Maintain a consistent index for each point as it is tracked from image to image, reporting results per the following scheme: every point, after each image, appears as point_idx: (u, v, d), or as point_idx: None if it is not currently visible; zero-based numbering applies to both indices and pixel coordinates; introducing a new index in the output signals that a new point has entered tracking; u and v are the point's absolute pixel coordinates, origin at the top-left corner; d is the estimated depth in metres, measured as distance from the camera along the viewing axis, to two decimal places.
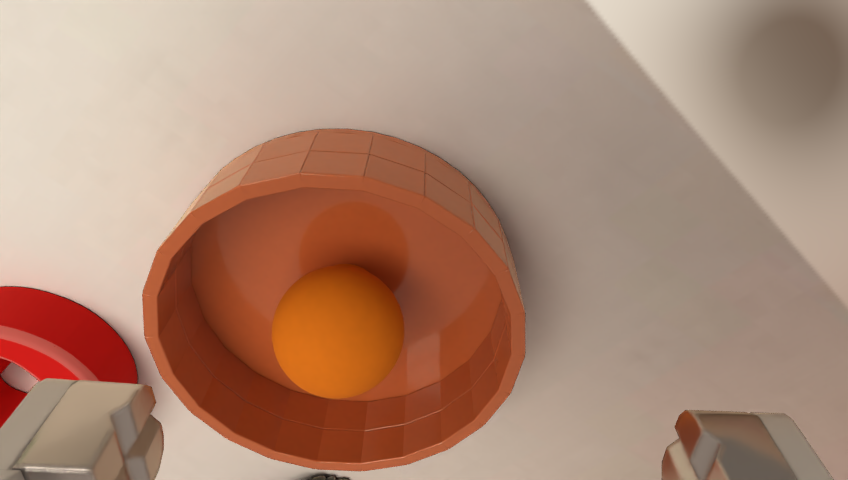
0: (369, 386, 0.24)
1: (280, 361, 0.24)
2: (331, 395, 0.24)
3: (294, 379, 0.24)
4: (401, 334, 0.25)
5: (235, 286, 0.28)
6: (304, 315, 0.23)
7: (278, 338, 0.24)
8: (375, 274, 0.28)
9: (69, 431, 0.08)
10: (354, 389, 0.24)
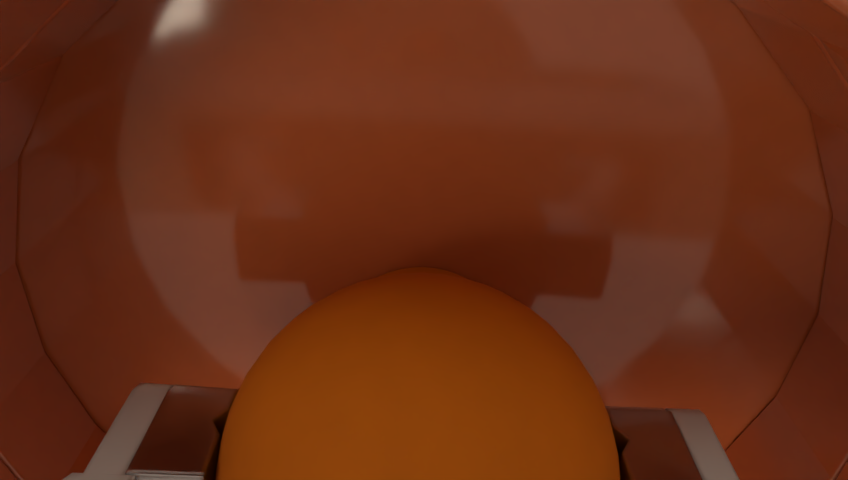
0: None
1: None
2: None
3: None
4: (571, 398, 0.07)
5: None
6: None
7: None
8: (447, 262, 0.11)
9: (175, 436, 0.08)
10: None
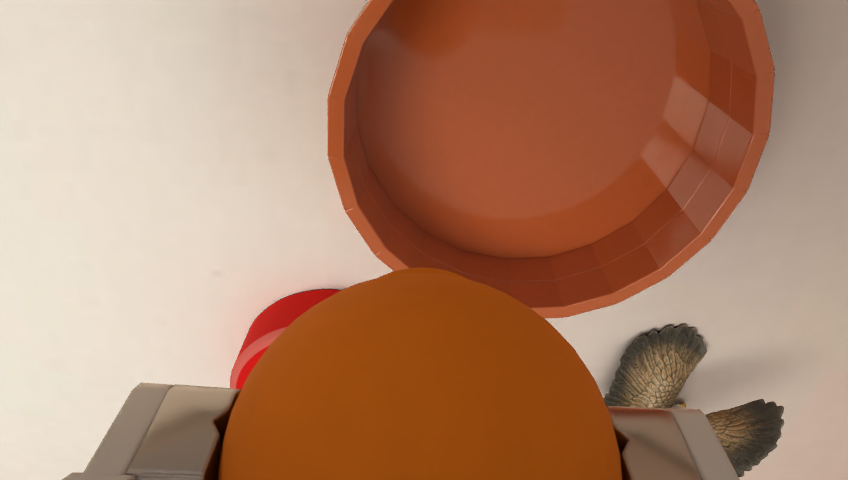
0: None
1: None
2: None
3: None
4: (573, 398, 0.07)
5: (430, 180, 0.27)
6: None
7: None
8: (545, 73, 0.24)
9: (175, 436, 0.08)
10: None
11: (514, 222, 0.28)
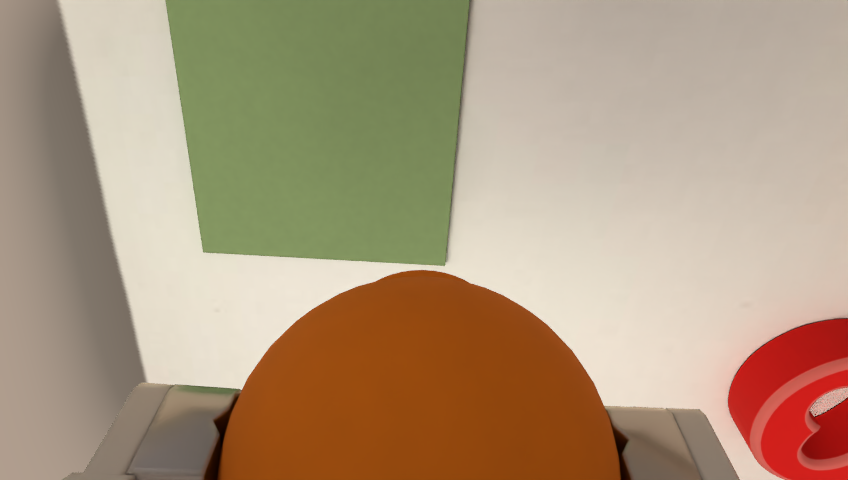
0: None
1: None
2: None
3: None
4: (572, 402, 0.07)
5: None
6: None
7: None
8: None
9: (175, 436, 0.08)
10: None
11: None
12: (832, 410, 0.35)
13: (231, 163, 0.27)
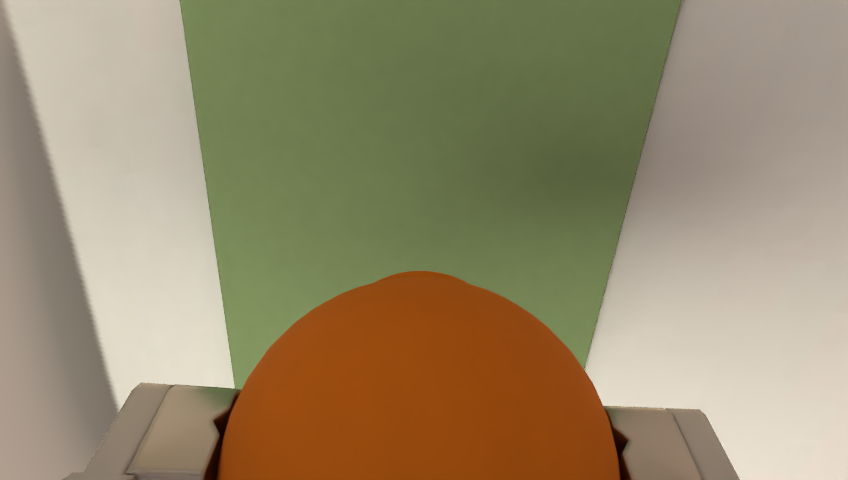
0: None
1: None
2: None
3: None
4: (572, 403, 0.07)
5: None
6: None
7: None
8: None
9: (175, 436, 0.08)
10: None
11: None
12: None
13: (281, 291, 0.19)
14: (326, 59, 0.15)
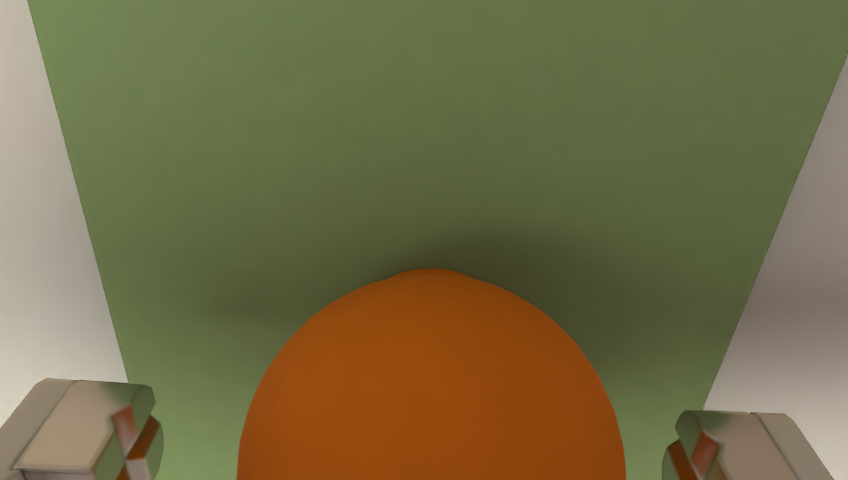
0: None
1: None
2: None
3: None
4: (579, 393, 0.07)
5: None
6: None
7: None
8: None
9: (69, 431, 0.08)
10: None
11: None
12: None
13: (232, 460, 0.14)
14: (281, 167, 0.10)
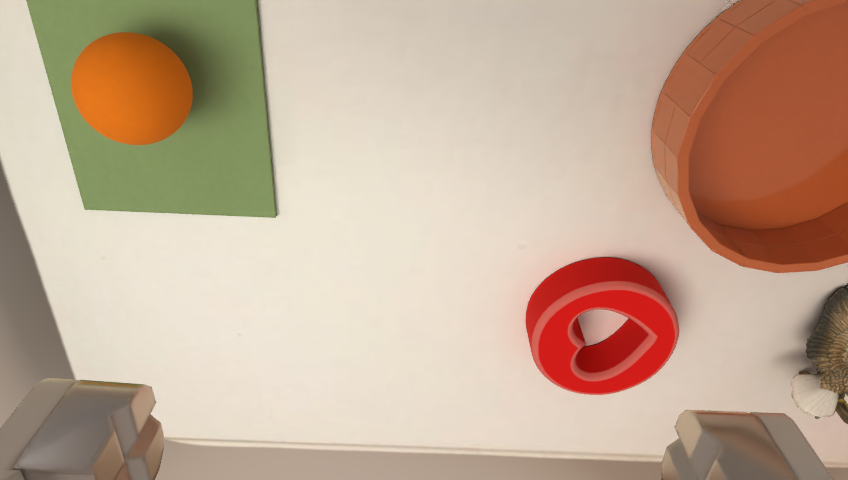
0: (153, 101, 0.29)
1: (96, 130, 0.30)
2: (134, 126, 0.29)
3: (108, 133, 0.30)
4: (155, 52, 0.29)
5: (707, 172, 0.36)
6: (72, 80, 0.29)
7: None
8: (810, 92, 0.33)
9: (69, 431, 0.08)
10: (138, 108, 0.29)
11: (763, 202, 0.37)
12: (612, 335, 0.43)
13: (96, 138, 0.35)
14: (94, 8, 0.32)
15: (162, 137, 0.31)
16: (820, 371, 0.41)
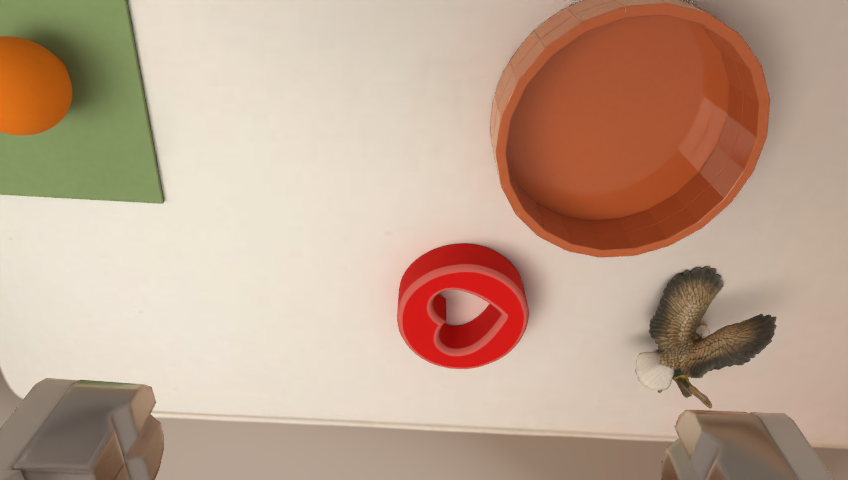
0: (26, 97, 0.33)
1: None
2: (10, 118, 0.33)
3: None
4: (30, 54, 0.33)
5: (543, 167, 0.40)
6: None
7: None
8: (623, 98, 0.38)
9: (69, 431, 0.08)
10: (13, 102, 0.33)
11: (596, 195, 0.41)
12: (479, 316, 0.47)
13: None
14: None
15: (41, 129, 0.35)
16: (661, 349, 0.46)
